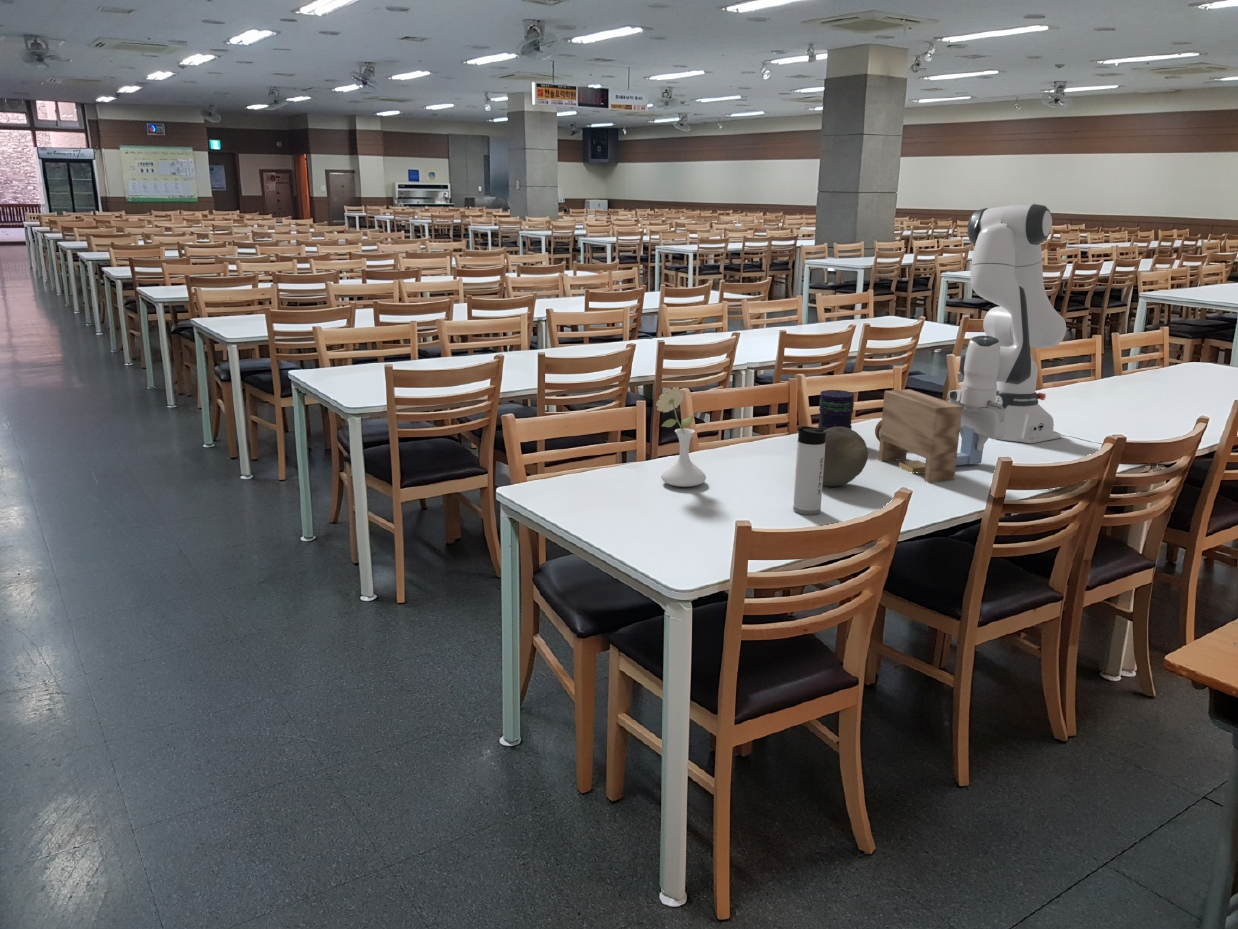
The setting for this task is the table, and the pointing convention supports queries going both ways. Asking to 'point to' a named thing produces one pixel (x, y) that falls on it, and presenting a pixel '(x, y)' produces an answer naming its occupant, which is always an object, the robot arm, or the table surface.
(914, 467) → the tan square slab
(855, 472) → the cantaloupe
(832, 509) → the table surface
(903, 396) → the wooden bridge block
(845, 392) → the storage jar
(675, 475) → the flower in vase
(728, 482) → the table surface
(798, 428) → the travel mug
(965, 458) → the blue l-shaped bracket
